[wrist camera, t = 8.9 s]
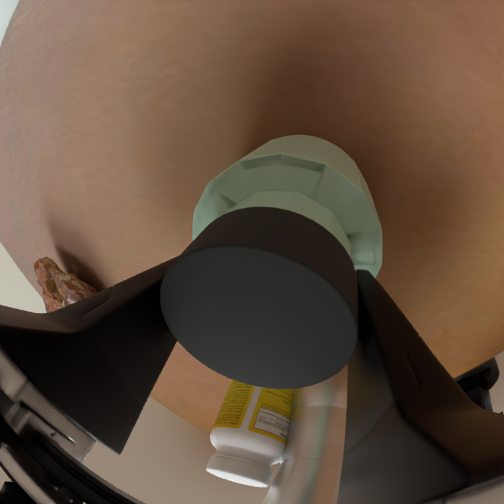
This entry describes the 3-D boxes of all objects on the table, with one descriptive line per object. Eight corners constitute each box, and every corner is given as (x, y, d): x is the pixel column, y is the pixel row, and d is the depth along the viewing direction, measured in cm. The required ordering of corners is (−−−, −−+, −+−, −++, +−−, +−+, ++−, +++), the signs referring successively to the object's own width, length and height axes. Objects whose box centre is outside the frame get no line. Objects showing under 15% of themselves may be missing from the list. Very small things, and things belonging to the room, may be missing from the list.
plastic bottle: (299, 387, 24) (237, 574, 7) (294, 345, 20) (208, 589, 4) (364, 390, 21) (324, 586, 5) (375, 347, 18) (329, 608, 2)
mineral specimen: (51, 295, 28) (17, 308, 21) (68, 246, 27) (31, 250, 20) (117, 353, 28) (90, 379, 21) (141, 305, 27) (113, 325, 21)
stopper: (375, 264, 10) (385, 369, 6) (270, 304, 13) (237, 395, 9) (307, 147, 8) (281, 196, 4) (201, 216, 11) (128, 290, 7)
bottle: (388, 226, 13) (416, 328, 7) (282, 274, 17) (248, 372, 11) (321, 108, 11) (308, 113, 5) (213, 179, 15) (131, 244, 9)
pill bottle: (245, 380, 25) (207, 475, 16) (235, 343, 22) (183, 457, 13) (306, 389, 24) (279, 492, 15) (308, 352, 20) (276, 482, 11)
